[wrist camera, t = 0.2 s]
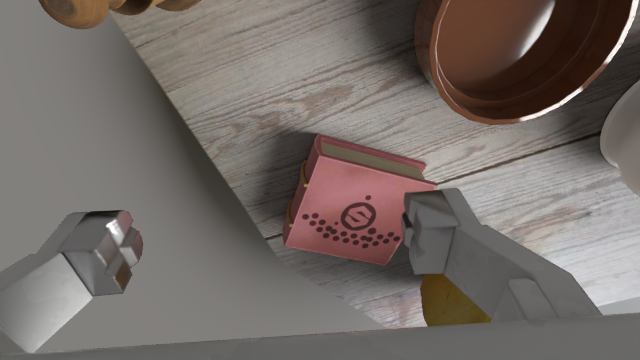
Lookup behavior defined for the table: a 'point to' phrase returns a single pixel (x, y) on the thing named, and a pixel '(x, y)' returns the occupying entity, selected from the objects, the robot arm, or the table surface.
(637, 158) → the vase
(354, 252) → the book
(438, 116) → the table surface
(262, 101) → the table surface
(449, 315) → the pitcher
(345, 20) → the table surface
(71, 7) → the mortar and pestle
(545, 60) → the bowl
